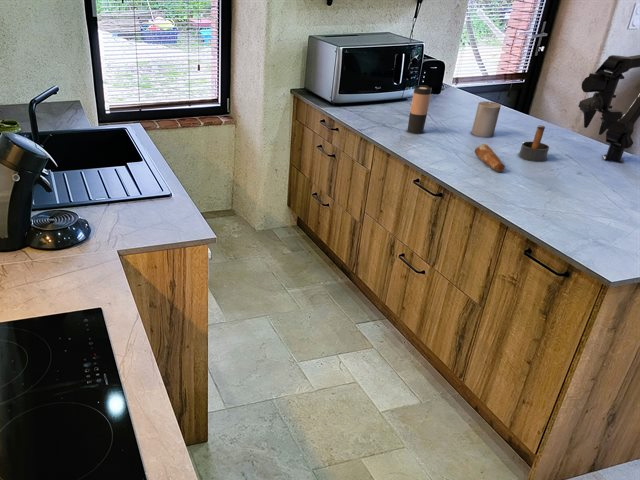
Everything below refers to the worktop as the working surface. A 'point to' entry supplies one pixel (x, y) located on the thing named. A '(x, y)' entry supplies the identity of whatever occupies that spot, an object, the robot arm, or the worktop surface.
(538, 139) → the stick
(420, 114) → the travel mug
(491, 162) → the bread
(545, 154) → the bowl
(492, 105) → the pillar candle
